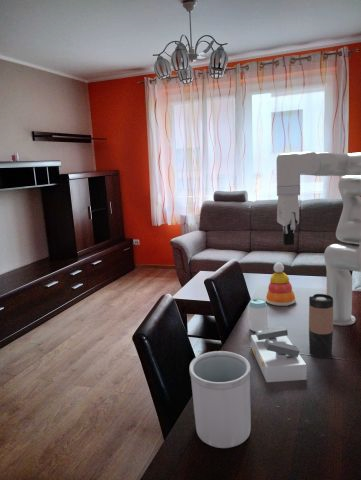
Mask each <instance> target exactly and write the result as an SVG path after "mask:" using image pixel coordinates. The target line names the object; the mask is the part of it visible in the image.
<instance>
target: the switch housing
mask: <svg viewBox="0 0 361 480" xmlns="http://www.w3.org/2000/svg"><path fill="white" fill-rule="evenodd" d="M265 340H266V339H263V340H258V338H257V336H256V334H251V335H250V341H251V342H250V343H251V344H250V345H251V350H252V353H253V356H254V357H255V359H256V362H257V364H258V367H259V369H260V371H261V373H262V375H263V377H264V379H265V382H266V383H277V382H278V383H279V382H290V381H291V382H293V381H306V380H307V363H306V362H305V360H304V359H303V358H302V356H301V355H300V354H299V355H298V357H294V356H290V355H286V354H282V353H278V352H273V351H269V350H267V349H266V347H265V345H264V344H265ZM269 340H273V341H277V342H281V343H285V344H289V345H293V343H292V342H291V340H290V338H289V337H288V335H287V336H281V337H275V338H269Z"/></svg>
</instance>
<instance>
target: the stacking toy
mask: <svg viewBox="0 0 361 480" xmlns="http://www.w3.org/2000/svg"><path fill="white" fill-rule="evenodd" d="M273 271H274V272H273V273H272V275H271V277H270V278H269V279H270V280H269V281H270V282H269V284H268V287H267V288H268V289H267V290H268V291H267V292H266V296H265V297H264V300H265V302H267V303H268V304H270V305H274V306H281V307H282V306H283V307H286V306H290V305H293V304H295V303H296V301H297V297H296V295H295V292H294V291H293V286H292V284H291V282H290V278H289V276H288V275H287V274H286V273H285V272H284V271H285V266H284V264H283V263H282V262H280V261H277V262H275V264H274V265H273Z"/></svg>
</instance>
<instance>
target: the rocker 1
mask: <svg viewBox="0 0 361 480" xmlns="http://www.w3.org/2000/svg"><path fill="white" fill-rule="evenodd" d="M288 333H289V332H288V329H287V327H286V326H285V325H280V326H279V325H278V326H273V327H267V328H266V329H260V330H256V332H255V335H256V336H257V338H258V340H263V339H269V338H275V337H281V336H287V337H288V336H289V335H288Z"/></svg>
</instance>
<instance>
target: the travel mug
mask: <svg viewBox="0 0 361 480" xmlns="http://www.w3.org/2000/svg"><path fill="white" fill-rule="evenodd" d="M308 299H309V300H308V301H309V302H308V303H309V304H308V341H309V343H308V344H309V348H308V350H309V354H310V355H311V356H312V357H315V358H318V359H319V358H320V359H327V358H330V357H331V356H332V354H333V338H334V335H333V334H334V325H333V297H331V296H329V295H326V294H325V293H315V294H313V295H312V296H309V298H308Z"/></svg>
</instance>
